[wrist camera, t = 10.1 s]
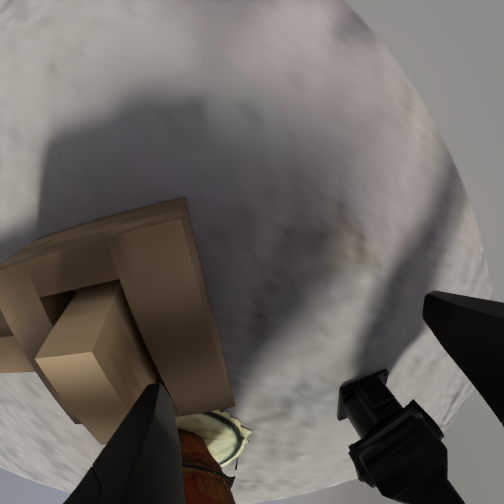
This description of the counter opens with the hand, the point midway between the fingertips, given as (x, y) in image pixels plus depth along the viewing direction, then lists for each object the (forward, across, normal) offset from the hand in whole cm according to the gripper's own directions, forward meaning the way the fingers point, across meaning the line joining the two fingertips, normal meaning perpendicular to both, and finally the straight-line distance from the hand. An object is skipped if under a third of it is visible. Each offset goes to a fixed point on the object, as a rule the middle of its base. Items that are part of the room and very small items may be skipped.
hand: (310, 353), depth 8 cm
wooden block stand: (+13, +20, +2) cm, 24 cm away
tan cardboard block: (+10, +9, +2) cm, 14 cm away
